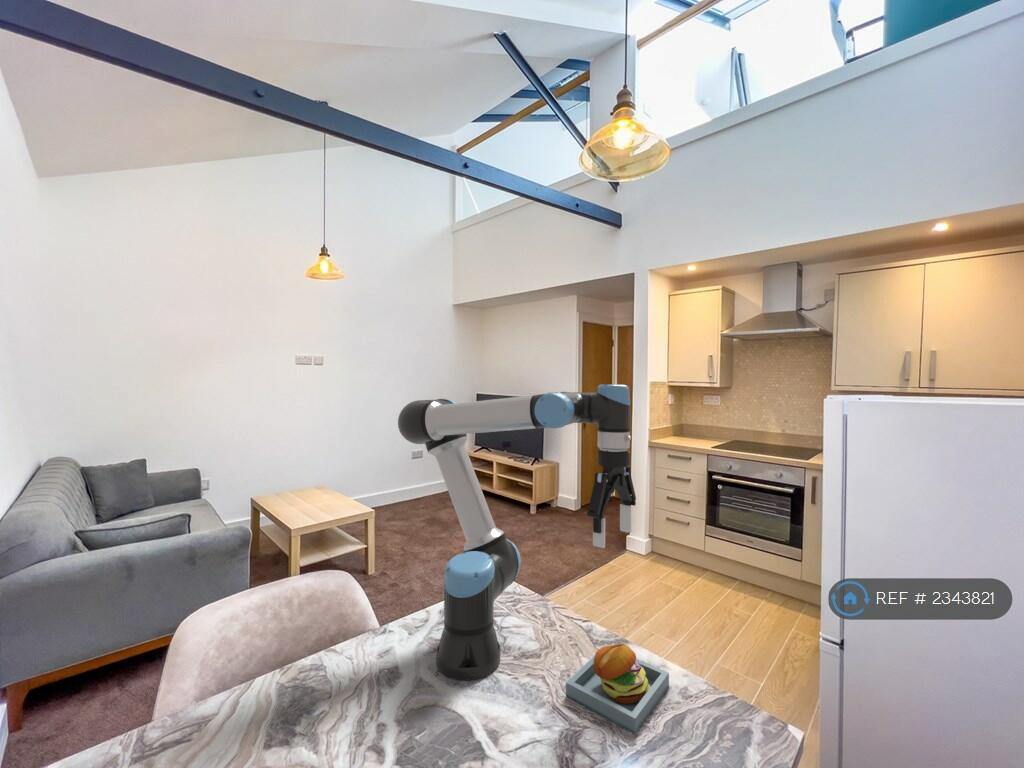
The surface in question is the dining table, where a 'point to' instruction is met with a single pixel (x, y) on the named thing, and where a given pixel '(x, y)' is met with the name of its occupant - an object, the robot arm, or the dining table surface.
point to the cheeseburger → (620, 673)
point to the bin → (628, 716)
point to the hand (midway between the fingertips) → (612, 538)
